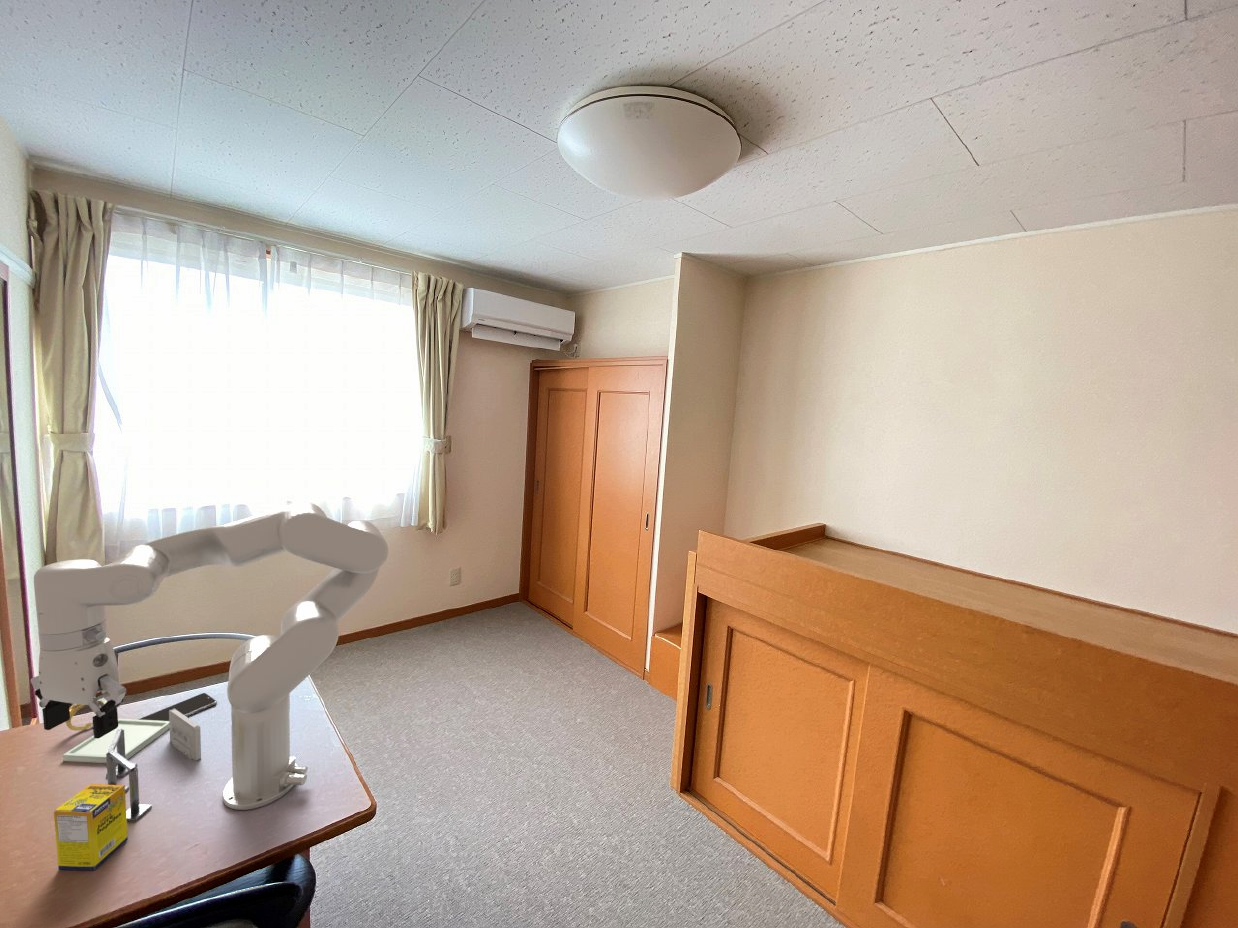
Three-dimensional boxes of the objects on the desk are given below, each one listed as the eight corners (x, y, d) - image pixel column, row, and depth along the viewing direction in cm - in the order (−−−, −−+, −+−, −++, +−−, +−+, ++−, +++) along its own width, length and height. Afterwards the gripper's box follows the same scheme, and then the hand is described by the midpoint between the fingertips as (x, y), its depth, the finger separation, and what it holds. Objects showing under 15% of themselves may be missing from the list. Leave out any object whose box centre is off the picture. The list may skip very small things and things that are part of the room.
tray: (171, 726, 116) (171, 721, 116) (121, 763, 104) (121, 757, 104) (119, 723, 115) (119, 718, 115) (63, 760, 103) (62, 754, 103)
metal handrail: (154, 813, 93) (152, 767, 92) (104, 835, 88) (101, 787, 86) (135, 760, 105) (133, 718, 104) (90, 777, 100) (87, 733, 99)
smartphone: (121, 725, 114) (204, 691, 128) (121, 729, 114) (205, 695, 128) (133, 737, 111) (218, 701, 125) (133, 741, 111) (218, 705, 125)
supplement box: (129, 839, 87) (126, 783, 86) (94, 871, 81) (90, 812, 80) (94, 838, 87) (90, 782, 86) (57, 870, 81) (52, 810, 80)
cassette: (204, 757, 107) (203, 725, 106) (193, 762, 106) (192, 729, 105) (177, 737, 113) (176, 706, 112) (166, 742, 111) (165, 710, 110)
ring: (68, 739, 109) (65, 706, 108) (64, 733, 111) (62, 700, 110) (111, 723, 115) (110, 691, 114) (107, 718, 117) (106, 686, 116)
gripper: (143, 630, 84) (149, 722, 87) (58, 619, 86) (65, 708, 89) (92, 652, 77) (99, 751, 79) (-1, 639, 79) (9, 736, 81)
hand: (81, 728), depth 84 cm, fingers open, 9 cm apart
